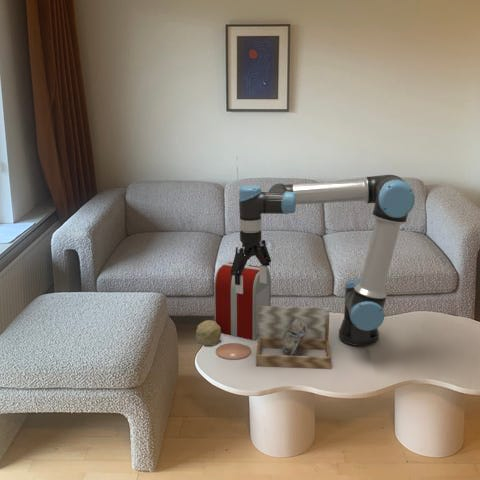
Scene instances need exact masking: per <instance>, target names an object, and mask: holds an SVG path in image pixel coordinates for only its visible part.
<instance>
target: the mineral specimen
mask: <svg viewBox="0 0 480 480" xmlns="http://www.w3.org/2000/svg"><path fill="white" fill-rule="evenodd" d="M306 328H307V325H306V324H305V322H304V321H303V320H300V319H295V320H294V321H293V322H292V324H291V326H289V328H288V329H287V330H286V331H285V333H284V335H283V337H282V340H281V346H285V347H284V349H283V352H284V353H288V351H290V355H289V356H296V353H297V351H298V349H297V348H298V345H299V343H300V341H301V339H302V338H303V337H304V336H305V331H306V330H307V329H306ZM281 346H280V347H281ZM280 347H279V348H278V349H280Z"/></svg>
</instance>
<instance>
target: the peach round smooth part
mask: <svg viewBox="0 0 480 480" xmlns="http://www.w3.org/2000/svg"><path fill="white" fill-rule="evenodd" d="M215 354H216V356H217V357H219V358H221V359H225V360H230V361H232V360H234V361H236V360H242V359H243V360H244V359H246V358H248V357H249V356H250V355H251V354H252V349H251V348H250V346H248V345H246V344H243V343H238V342H236V343H235V342H229V343H225V344H222V345H219V346H217V347H216V349H215Z"/></svg>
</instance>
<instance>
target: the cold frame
mask: <svg viewBox="0 0 480 480" xmlns="http://www.w3.org/2000/svg"><path fill="white" fill-rule="evenodd" d="M330 310H331V309H330V307H304V306H303V307H299V306H272V305H271V306H259V336H258V338H257V346H256V354H255V356H256V358H255V367H267V368H268V367H270V368H273V367H274V368H275V367H276V368H297V369H299V368H300V369H302V368H303V369H326V370H327V369H329V370H330V369H331V367H332V366H331V365H332V364H331V363H332V357H331V356H332V355H331V349H330V348H331V347H330V341H329V337H330V335H329V334H330V331H329V330H330ZM295 319H300V320H303V321H304V322H305V324H306V325H307V328H306V329H307V330H306V331H305V336H304V337H303V338H302V339H301V341H300V343H299V345H298V348H297V350H311V351H312V350H313V351H315V350H316V351H325V356H309V355H295V356H290V355H285V354H284V355H283V354H281V355H278V354H276V355H275V354H261V351H262V349H281V350H282V349H283V350H284V347H285V346H281V340H282V337H283V335H284V333H285V331H286V330H287V329H288V328H289V326H291V324H292V322H293V321H294V320H295ZM280 346H281V347H280ZM279 347H280V348H279Z"/></svg>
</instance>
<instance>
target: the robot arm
mask: <svg viewBox="0 0 480 480" xmlns="http://www.w3.org/2000/svg"><path fill="white" fill-rule="evenodd" d="M238 192H239V193H238V194H239V195H238V197H239V198H238V205H239V206H238V207H239V230H240V231H239V240H240V242H241V244H242V245H241V247H239V246H236V247H235V255H234V258H233V261H232V263H233V265H232V268H231V272H230V275H234V276H235V285H236V293H240V294H243V276H241V274H242V272H243V270H244V267H245V265H246V264H247V262H248V260H250V259H251V258H252V257H253V256H255V257H256V259H257V260H258V262H259V263H260V264H259V267H260V282H261V283H265V284H266V283H267V268H268V267H269V266H270V265H271V262H272V259H271V256H270V252H269V250H268V249H267V242H266V240H265V239H262V215H263V214H264V215H265V214H267V215H269V214H270V215H271V214H272V215H274V214H275V215H277V214H283V215H287V214H294V213H295V212H296V210H297V206H296V205H310V204H311V205H312V204H315V205H317V204H327V203H328V204H329V203H330V204H331V203H333V204H334V203H346V202H347V203H348V202H349V203H350V202H364V203H365V204H374V206H373V211H372V216H373V218H374V219H375V222H374V225H373V229H372V234H371V237H370V241H369V245H368V250H367V253H366V257H365V262H364V265H363V270H362V274H361V278H354V279H348V280H346V283H345V286H344V289H345V292H344V309H343V310H344V312H343V313H344V315H343V319H342V321H341V325H340V327H339V329H338V339H339V340H340V341H341V342H343V343H345V344H349V345H353V346H360V347H361V346H363V347H364V346H370V345H374V344H376V343H378V341H379V338H380V335H379V334H380V333H379V330H378V328H379V327H380V326H381V325H382V324H383V323H384V320H385V309H384V308H385V304H386V300H387V295H388V294H387V292H386V291H385V287H386V282H387V279H388V274H389V271H390V268H391V263H392V259H393V256H394V251H395V247H396V245H397V240H398V236H399V232H400V229H401V227H402V225H405V223H407V219H408V216H409V213H411V211H413V208H414V206H415V201H416V199H415V197H416V196H415V193H414V191H413V189H412V187H411V186H410V184H408V183H407V182H406V181H405V180H403V178H401V177H400V176H398V175H394V174H381V175H373V176H364V177H363V178H362V179H357V180H356V179H355V180H340V181H339V180H338V181H328V182H327V181H325V182H322V181H321V182H307V183H292V184H291V183H290V184H289V183H288V184H284V183H282V182H276V183H274V184H273V185H272V186H270V187H269V189H268V191H262V188H261V187H260V186H258V185H254V184H253V185H249V184H248V185H243V186H242V187H240V188H239V191H238ZM238 271H239V273H238Z"/></svg>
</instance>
